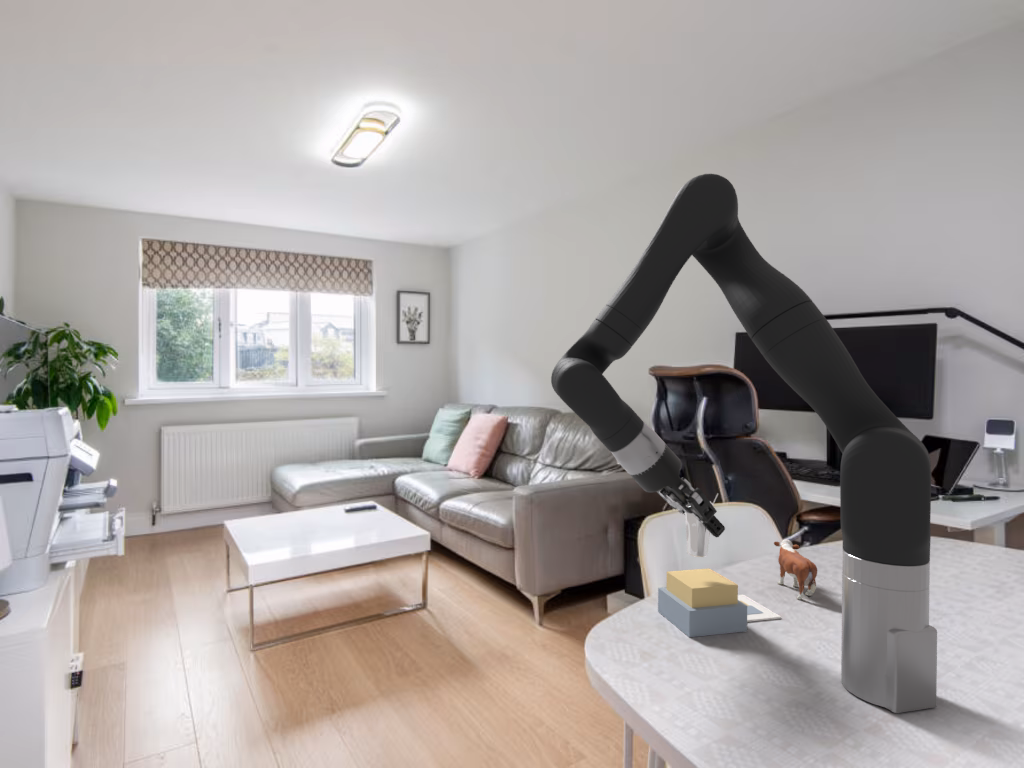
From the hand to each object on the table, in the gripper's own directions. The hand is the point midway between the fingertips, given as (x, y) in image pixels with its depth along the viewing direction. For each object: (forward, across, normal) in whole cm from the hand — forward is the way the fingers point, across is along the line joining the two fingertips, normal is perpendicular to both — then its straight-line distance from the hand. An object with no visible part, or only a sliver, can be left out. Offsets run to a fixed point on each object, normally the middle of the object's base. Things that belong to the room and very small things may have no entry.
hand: (711, 528), depth 94 cm
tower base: (+9, 0, +12) cm, 15 cm away
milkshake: (+2, 0, +4) cm, 5 cm away
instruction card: (+16, +3, +5) cm, 17 cm away
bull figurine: (+27, +9, -6) cm, 29 cm away
